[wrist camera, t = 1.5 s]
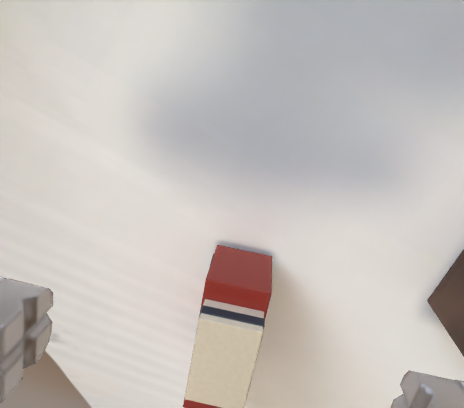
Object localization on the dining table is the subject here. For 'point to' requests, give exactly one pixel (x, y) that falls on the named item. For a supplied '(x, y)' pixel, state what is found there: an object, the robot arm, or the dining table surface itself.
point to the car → (229, 329)
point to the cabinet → (451, 302)
